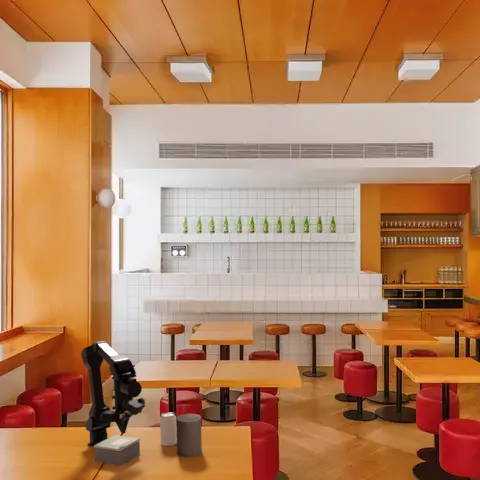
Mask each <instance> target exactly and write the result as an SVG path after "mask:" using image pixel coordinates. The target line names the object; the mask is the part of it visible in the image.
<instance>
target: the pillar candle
mask: <svg viewBox="0 0 480 480" xmlns="http://www.w3.org/2000/svg"><path fill="white" fill-rule="evenodd" d="M176 430H177V443H176V454H177V456H179V457H182V458H193V457H198V456H200V455H201V454H202V452H203V451H202V449H203V447H202V444H203V442H202V416H201V415H200V414H196V413H184V414H180V415H178V416H176Z"/></svg>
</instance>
